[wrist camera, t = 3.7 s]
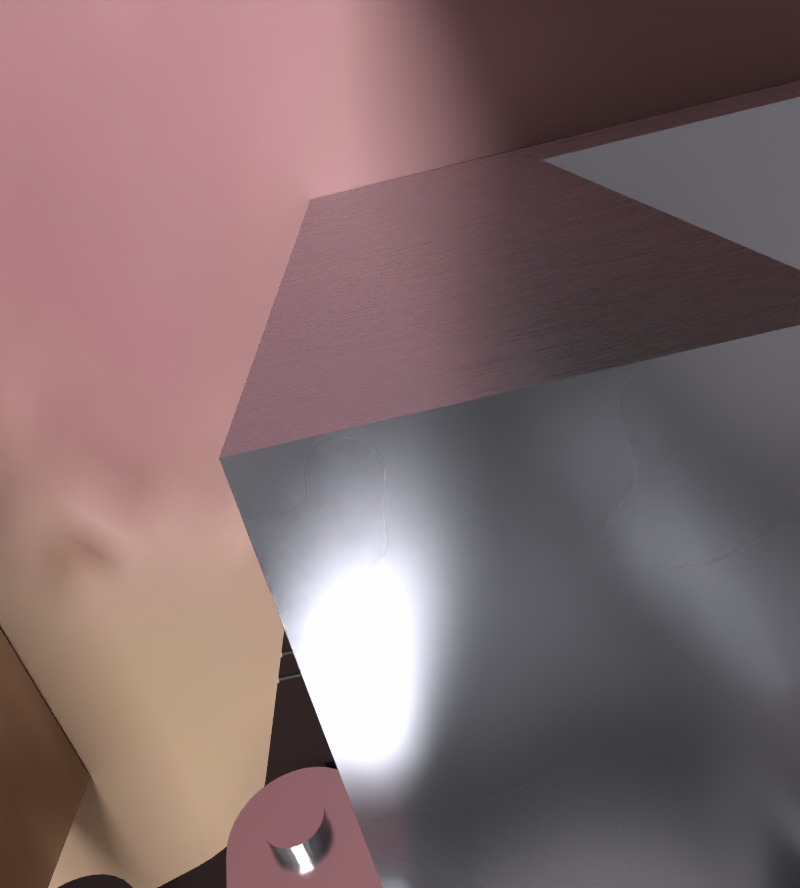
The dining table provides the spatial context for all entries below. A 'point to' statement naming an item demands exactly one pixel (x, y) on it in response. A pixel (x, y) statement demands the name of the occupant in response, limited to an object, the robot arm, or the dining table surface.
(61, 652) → the dining table surface
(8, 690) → the corner arena
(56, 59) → the dining table surface
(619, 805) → the bracket
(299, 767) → the robot arm
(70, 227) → the dining table surface
